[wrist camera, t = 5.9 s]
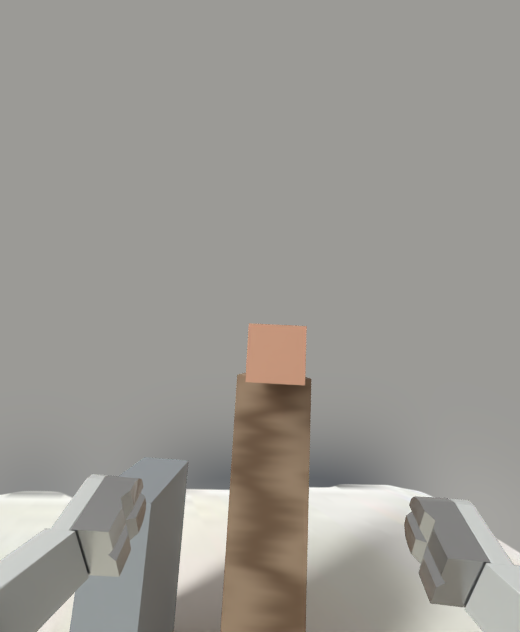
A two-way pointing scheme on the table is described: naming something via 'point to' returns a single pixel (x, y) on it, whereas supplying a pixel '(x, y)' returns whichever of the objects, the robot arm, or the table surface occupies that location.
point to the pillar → (268, 509)
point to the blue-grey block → (142, 561)
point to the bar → (276, 354)
